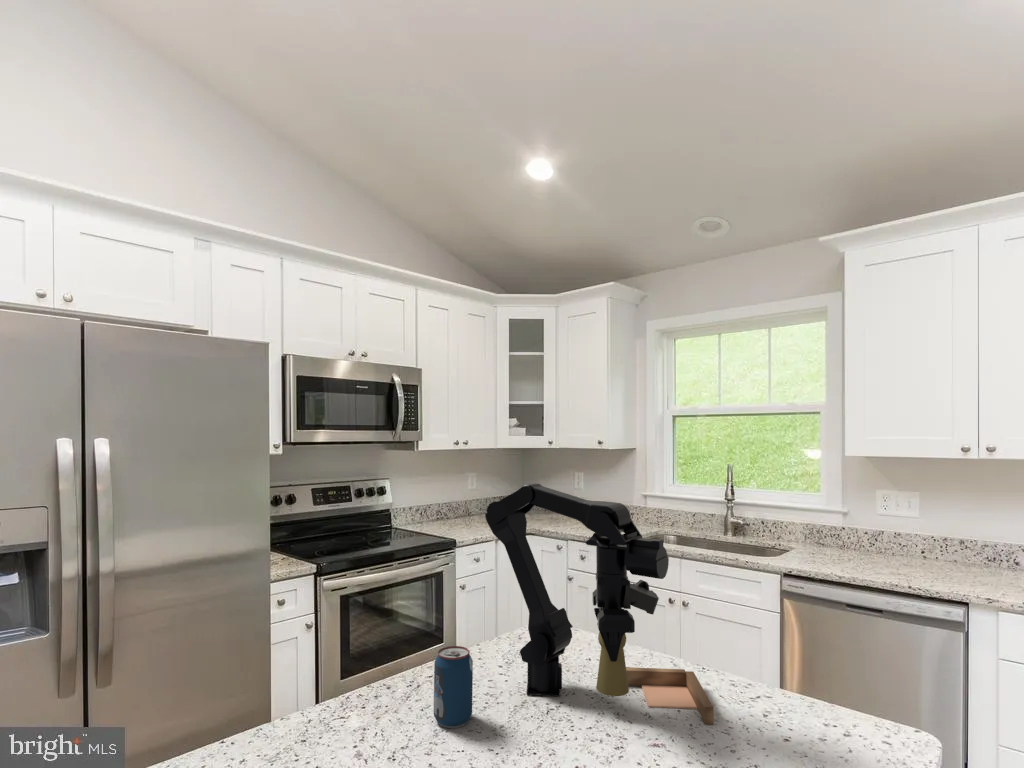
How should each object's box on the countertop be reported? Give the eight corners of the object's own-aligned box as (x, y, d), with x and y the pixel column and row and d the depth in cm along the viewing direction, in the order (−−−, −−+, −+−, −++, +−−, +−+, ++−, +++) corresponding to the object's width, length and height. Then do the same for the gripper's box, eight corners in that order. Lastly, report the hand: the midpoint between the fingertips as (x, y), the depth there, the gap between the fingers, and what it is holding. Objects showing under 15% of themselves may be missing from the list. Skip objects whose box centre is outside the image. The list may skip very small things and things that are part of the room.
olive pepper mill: (627, 683, 115) (626, 624, 115) (630, 697, 109) (629, 634, 109) (595, 681, 115) (595, 622, 116) (596, 695, 109) (596, 633, 110)
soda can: (477, 713, 110) (478, 646, 111) (464, 732, 103) (465, 660, 104) (442, 708, 112) (443, 643, 113) (427, 726, 105) (428, 656, 106)
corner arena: (614, 720, 108) (614, 703, 108) (606, 681, 124) (606, 666, 125) (713, 724, 107) (713, 707, 107) (692, 684, 123) (692, 669, 123)
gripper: (663, 584, 104) (664, 678, 102) (647, 561, 122) (648, 639, 121) (598, 583, 104) (599, 675, 103) (592, 559, 123) (592, 637, 122)
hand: (612, 655), depth 112 cm, fingers closed on olive pepper mill, 5 cm apart
